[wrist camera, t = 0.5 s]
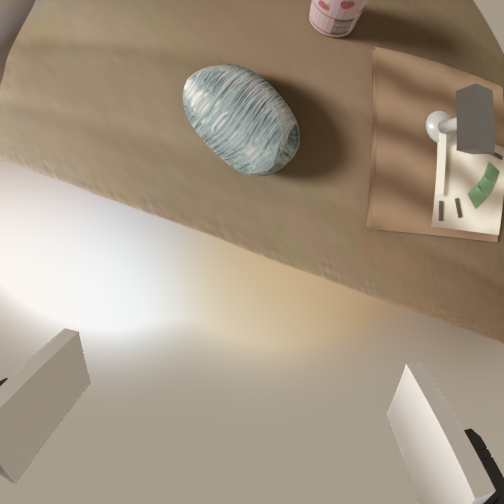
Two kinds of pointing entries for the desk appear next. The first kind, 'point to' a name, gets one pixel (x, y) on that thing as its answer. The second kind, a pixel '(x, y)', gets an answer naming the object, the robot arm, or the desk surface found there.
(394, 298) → the desk surface
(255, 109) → the pale teal yarn skein
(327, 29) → the beverage can
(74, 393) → the robot arm
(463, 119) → the grey piece
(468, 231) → the dial board
